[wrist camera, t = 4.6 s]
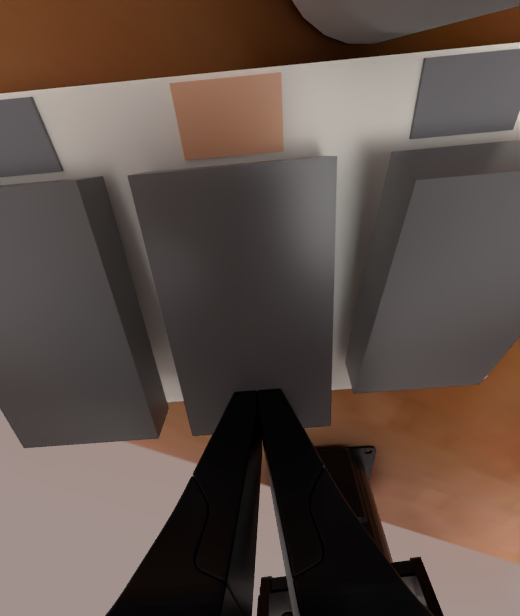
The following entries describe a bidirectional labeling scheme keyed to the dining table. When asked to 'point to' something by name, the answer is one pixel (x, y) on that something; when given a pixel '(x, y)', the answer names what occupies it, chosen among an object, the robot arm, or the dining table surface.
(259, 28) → the dining table surface
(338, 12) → the beverage can
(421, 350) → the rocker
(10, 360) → the block
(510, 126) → the rocker switch panel
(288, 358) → the block
